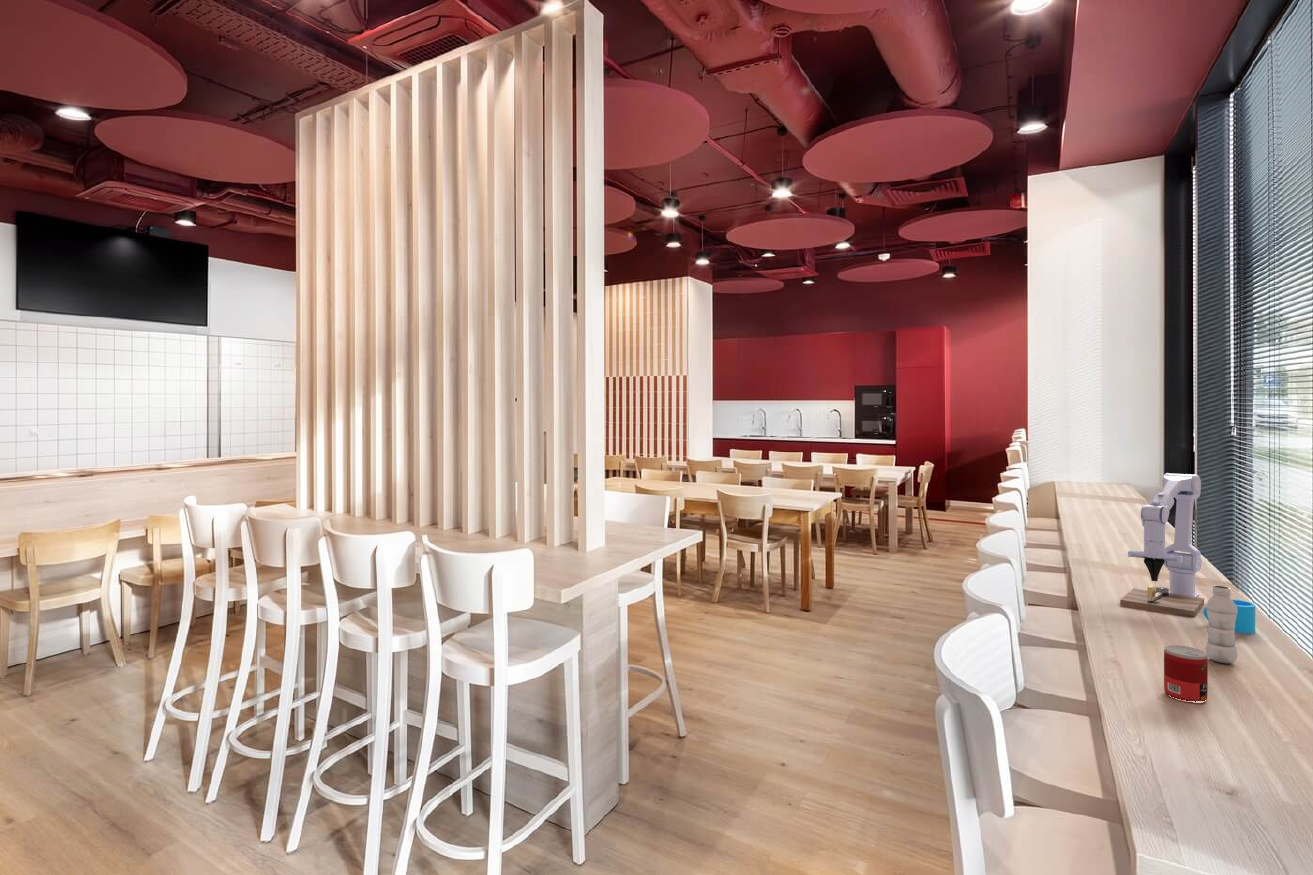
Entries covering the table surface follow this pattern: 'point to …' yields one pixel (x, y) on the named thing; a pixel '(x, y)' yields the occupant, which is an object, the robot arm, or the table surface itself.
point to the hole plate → (1163, 603)
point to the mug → (1242, 617)
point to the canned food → (1185, 673)
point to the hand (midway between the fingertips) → (1154, 580)
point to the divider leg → (1156, 592)
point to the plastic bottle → (1221, 626)
